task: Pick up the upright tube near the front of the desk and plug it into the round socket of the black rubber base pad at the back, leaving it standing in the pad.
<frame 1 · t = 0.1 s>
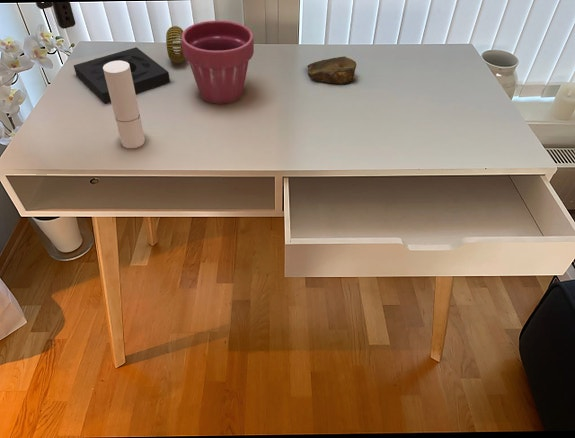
hand: (56, 16, 74), 25 cm above the table, tool pointing down, fingers open, 8 cm apart
tube: (133, 142, 95), on the table
decorative stone: (330, 75, 115), on the table
sculpture: (179, 62, 119), on the table
flower pot: (221, 93, 109), on the table
base pad: (123, 79, 112), on the table
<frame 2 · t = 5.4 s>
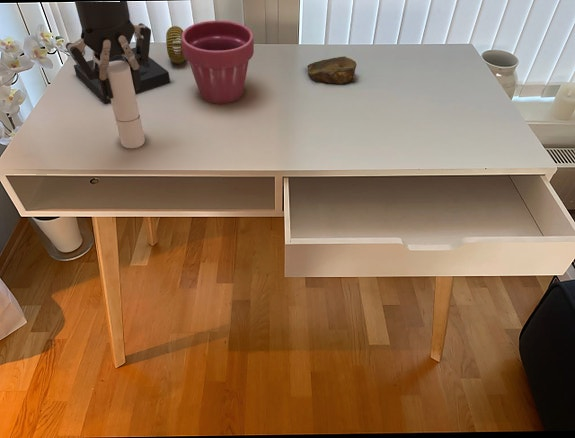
hand: (121, 92, 88), 10 cm above the table, tool pointing down, fingers closed on tube, 4 cm apart
tube: (133, 142, 95), on the table, touching gripper
everything else where it was.
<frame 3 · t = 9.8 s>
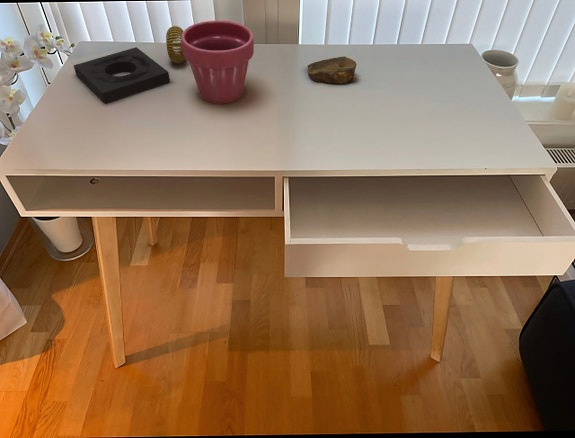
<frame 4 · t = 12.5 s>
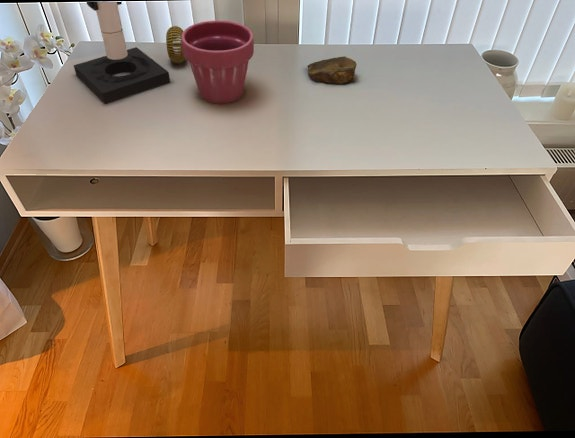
hand: (106, 5, 101), 16 cm above the table, tool pointing down, fingers closed on tube, 4 cm apart
tube: (117, 55, 108), point 5 cm above the table, touching gripper
everything else where it was.
when the fingers open (10 cm above the table, at t = 14.5 s): tube stays where it is, on the table.
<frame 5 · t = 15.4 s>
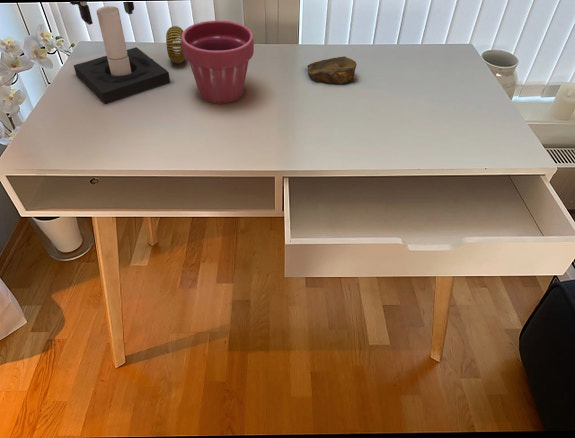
hand: (109, 18, 103), 13 cm above the table, tool pointing down, fingers open, 8 cm apart
tube: (122, 80, 112), on the table
everything else where it was.
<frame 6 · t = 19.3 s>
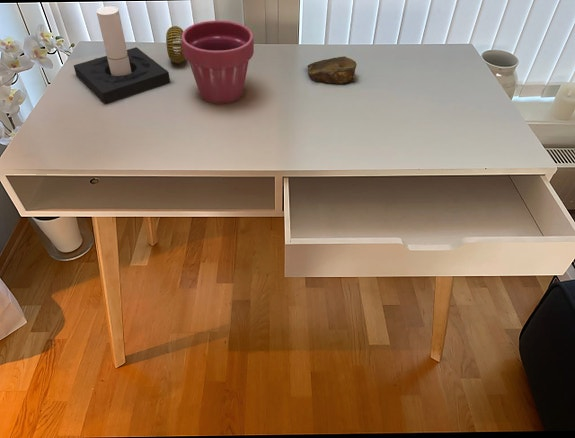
nothing on the table moved.
at the end: tube 0.1 cm off-centre in the base pad, point 0.0 cm above the base pad's base; tube tilted 0°; the gripper is holding nothing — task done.
